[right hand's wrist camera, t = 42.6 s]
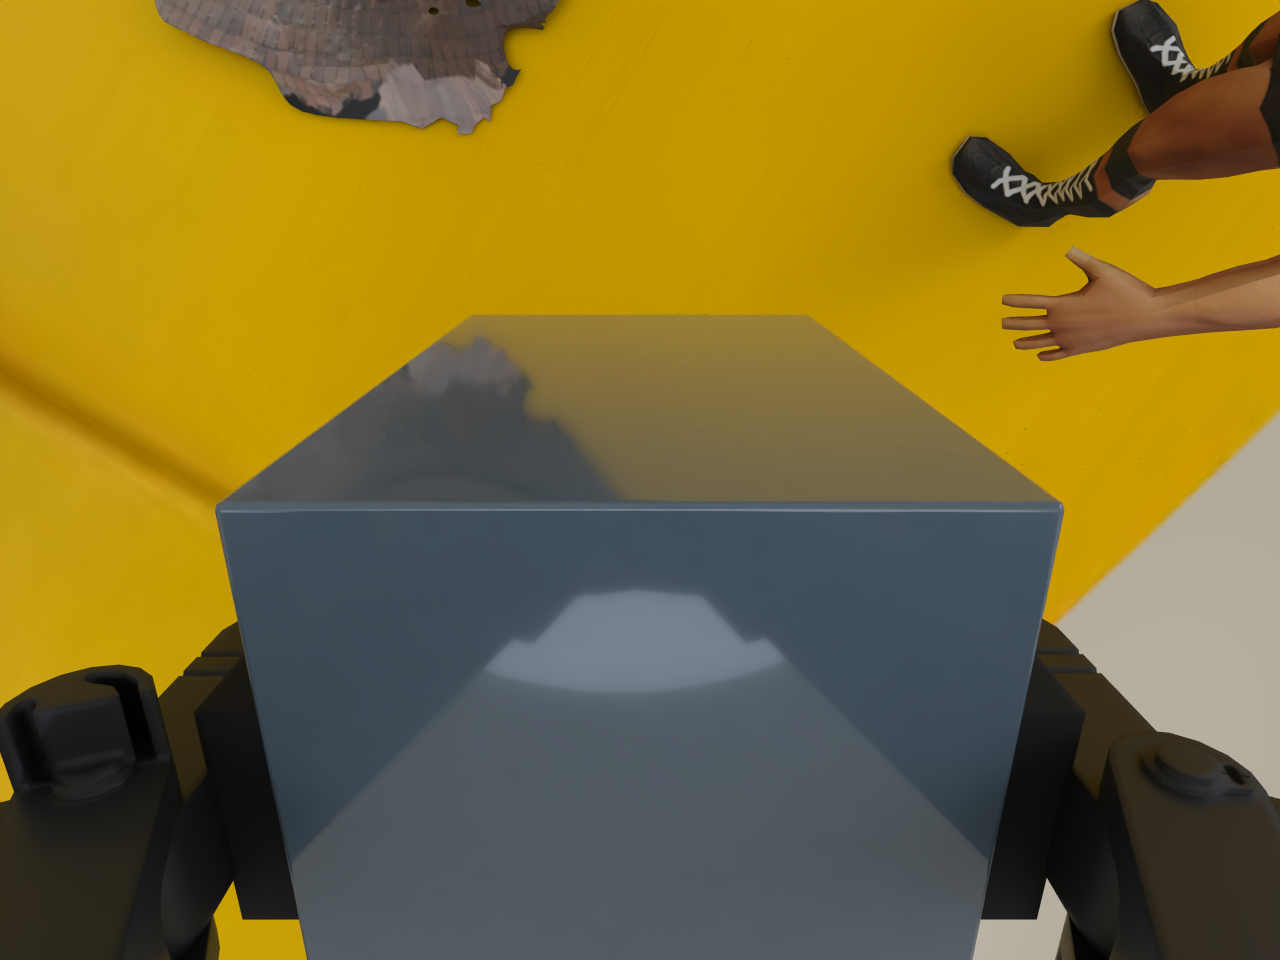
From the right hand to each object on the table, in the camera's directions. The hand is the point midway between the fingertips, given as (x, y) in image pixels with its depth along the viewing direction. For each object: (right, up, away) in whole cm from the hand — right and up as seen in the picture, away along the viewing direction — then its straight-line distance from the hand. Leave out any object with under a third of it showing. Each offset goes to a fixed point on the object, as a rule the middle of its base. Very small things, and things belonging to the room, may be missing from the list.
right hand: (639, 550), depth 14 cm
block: (0, +1, +4) cm, 4 cm away
